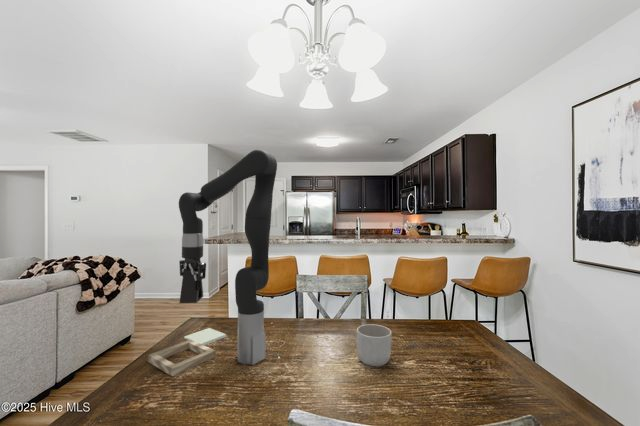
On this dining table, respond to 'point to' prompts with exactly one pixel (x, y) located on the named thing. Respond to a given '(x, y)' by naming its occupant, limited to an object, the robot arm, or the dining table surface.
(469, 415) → the dining table surface
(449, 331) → the dining table surface
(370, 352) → the planter
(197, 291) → the phone stand
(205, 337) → the sage mat
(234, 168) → the robot arm
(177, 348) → the pocket holder
